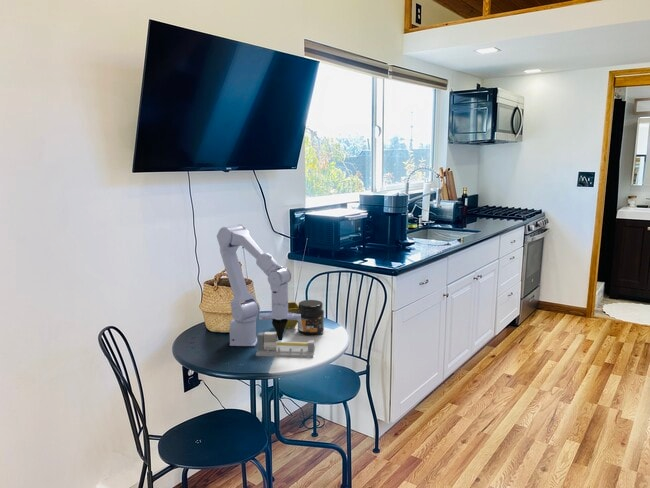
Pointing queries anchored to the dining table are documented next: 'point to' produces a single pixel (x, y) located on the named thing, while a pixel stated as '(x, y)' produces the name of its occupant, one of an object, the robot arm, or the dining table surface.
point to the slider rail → (286, 348)
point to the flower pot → (292, 309)
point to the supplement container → (311, 317)
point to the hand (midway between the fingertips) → (280, 339)
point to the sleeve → (270, 340)
